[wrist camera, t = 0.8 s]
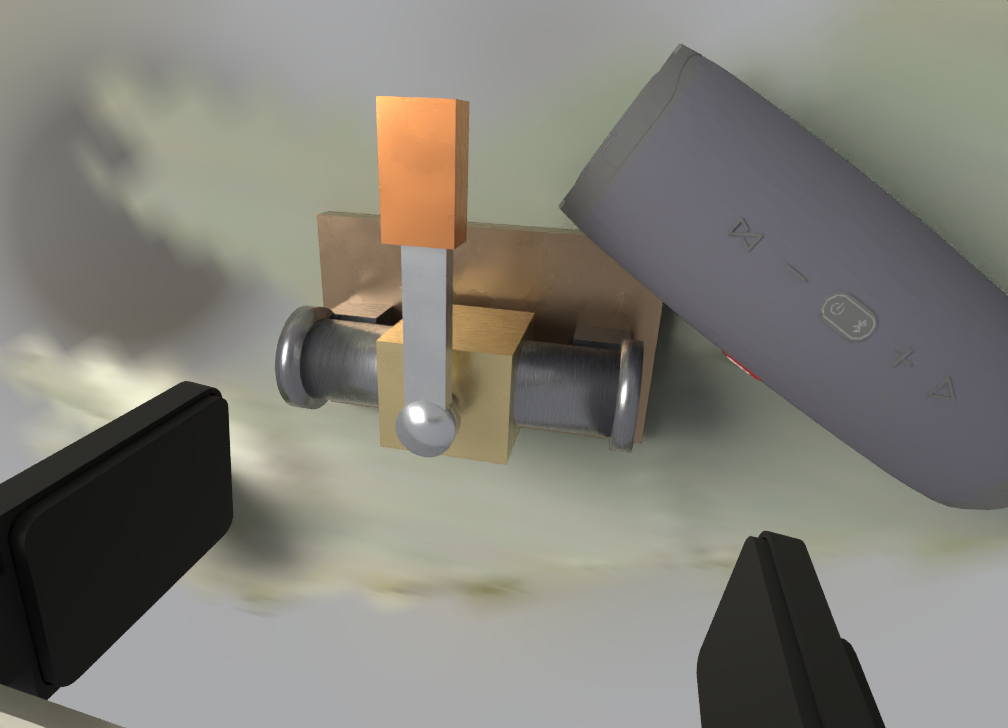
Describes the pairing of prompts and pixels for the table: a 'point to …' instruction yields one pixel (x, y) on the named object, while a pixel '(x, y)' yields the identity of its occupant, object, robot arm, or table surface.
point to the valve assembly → (482, 336)
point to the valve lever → (425, 251)
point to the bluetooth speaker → (806, 278)
